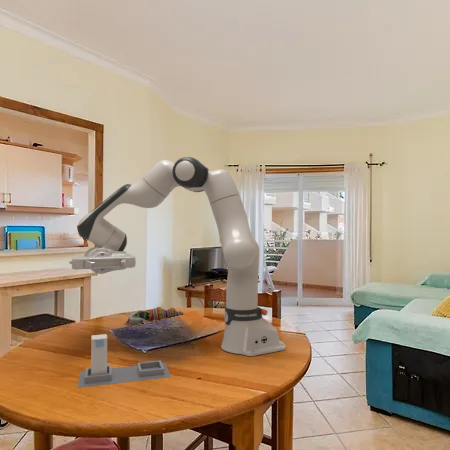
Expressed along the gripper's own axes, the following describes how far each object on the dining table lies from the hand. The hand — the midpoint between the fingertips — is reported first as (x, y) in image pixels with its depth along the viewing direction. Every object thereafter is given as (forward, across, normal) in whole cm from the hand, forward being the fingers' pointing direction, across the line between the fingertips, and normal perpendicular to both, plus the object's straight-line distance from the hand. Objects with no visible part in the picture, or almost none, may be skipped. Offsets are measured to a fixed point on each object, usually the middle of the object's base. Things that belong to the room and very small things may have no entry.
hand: (108, 264), depth 115 cm
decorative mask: (-36, +29, +31) cm, 55 cm away
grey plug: (+15, -5, +29) cm, 33 cm away
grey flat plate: (+16, +2, +30) cm, 34 cm away
